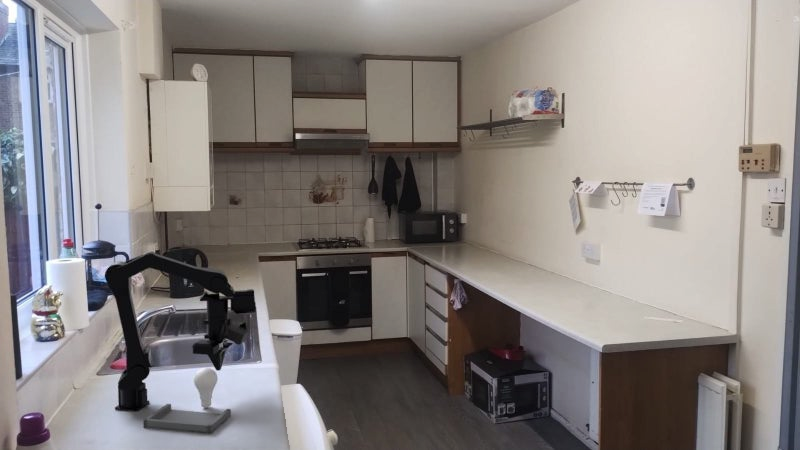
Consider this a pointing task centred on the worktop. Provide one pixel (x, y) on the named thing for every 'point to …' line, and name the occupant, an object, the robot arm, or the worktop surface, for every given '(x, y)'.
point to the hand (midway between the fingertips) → (218, 370)
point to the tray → (185, 420)
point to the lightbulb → (205, 385)
